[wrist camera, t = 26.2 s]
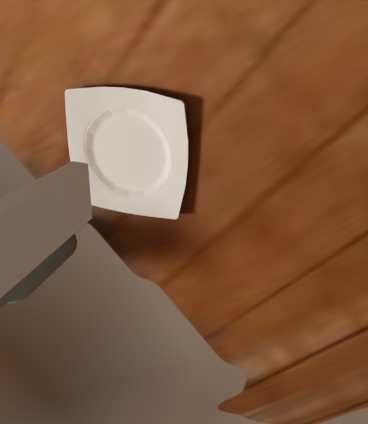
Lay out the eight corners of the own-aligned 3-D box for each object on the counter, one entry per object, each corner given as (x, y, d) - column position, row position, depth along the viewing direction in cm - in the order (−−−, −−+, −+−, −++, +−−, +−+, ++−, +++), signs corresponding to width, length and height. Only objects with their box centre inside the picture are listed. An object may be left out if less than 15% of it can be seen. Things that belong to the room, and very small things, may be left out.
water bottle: (35, 204, 62) (-121, 301, 38) (80, 221, 61) (-51, 333, 37) (34, 245, 67) (-105, 354, 43) (76, 262, 66) (-43, 383, 42)
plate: (68, 80, 50) (57, 81, 47) (195, 92, 45) (191, 94, 43) (80, 199, 59) (72, 205, 57) (187, 218, 55) (183, 225, 53)
